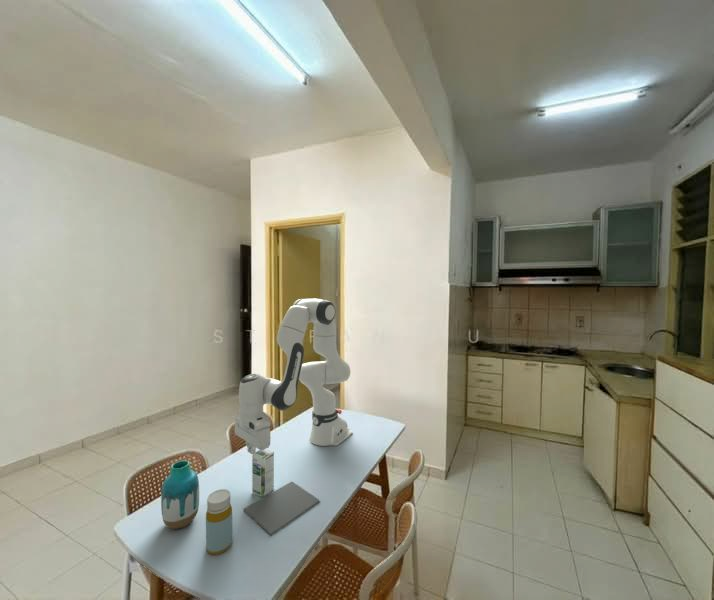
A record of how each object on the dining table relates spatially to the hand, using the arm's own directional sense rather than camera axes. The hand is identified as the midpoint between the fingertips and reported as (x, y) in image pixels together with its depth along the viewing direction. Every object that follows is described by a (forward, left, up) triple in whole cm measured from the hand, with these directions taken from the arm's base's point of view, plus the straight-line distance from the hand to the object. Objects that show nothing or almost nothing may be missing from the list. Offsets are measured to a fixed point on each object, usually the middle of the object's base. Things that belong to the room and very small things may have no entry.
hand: (251, 452), depth 120 cm
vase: (+26, +2, -12) cm, 29 cm away
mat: (0, +20, -12) cm, 23 cm away
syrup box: (0, +8, -12) cm, 14 cm away
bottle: (+22, +20, -12) cm, 32 cm away
